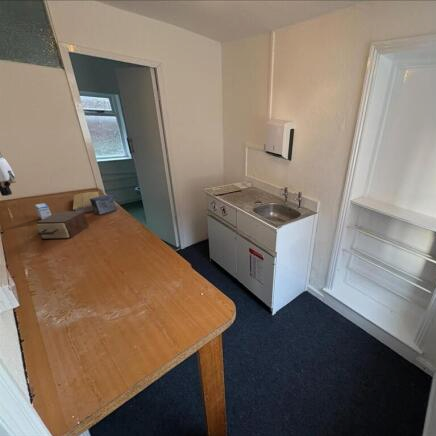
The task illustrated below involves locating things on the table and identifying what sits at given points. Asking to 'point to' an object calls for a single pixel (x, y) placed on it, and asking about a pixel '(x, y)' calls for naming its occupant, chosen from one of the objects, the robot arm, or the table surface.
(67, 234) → the drawer
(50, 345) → the table surface
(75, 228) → the cabinet
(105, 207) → the small box
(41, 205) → the medicine box
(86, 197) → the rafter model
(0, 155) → the robot arm
